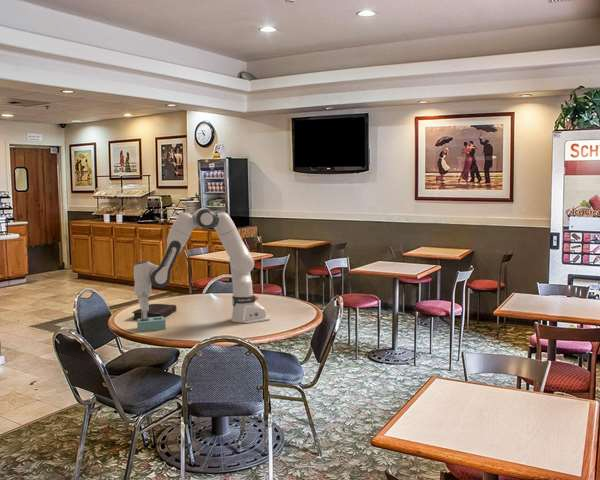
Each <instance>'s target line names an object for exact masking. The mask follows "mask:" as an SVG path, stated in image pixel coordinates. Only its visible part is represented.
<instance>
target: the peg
mask: <svg viewBox="0 0 600 480" xmlns="http://www.w3.org/2000/svg"><path fill="white" fill-rule="evenodd" d="M141 319H142V321H147V318H143V311H142V310H141Z"/></svg>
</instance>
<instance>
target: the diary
mask: <svg viewBox="0 0 600 480" xmlns="http://www.w3.org/2000/svg"><path fill="white" fill-rule="evenodd" d="M176 312H177V304H167V303H150V304H149V311H147V318H150V317H161V316H163V317H164V319H165V318H168V317H169V316H170V315H172V314H173V313H176ZM131 313H132V314H133V320H132V321H137V319H140V318H141V308H138V309H136V310H134V311H132V312H131Z"/></svg>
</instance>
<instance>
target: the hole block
mask: <svg viewBox="0 0 600 480" xmlns="http://www.w3.org/2000/svg"><path fill="white" fill-rule="evenodd" d="M136 323H137V330H138V332H139V333H141V332H142V331H144V332H151V331H161V329H163V330H167V329H166V328H167V327H166V324H167V323H166V319H165V318H164V317H163V316H161V317H150V318H147V321H142V319H141V318H140V319H137V320H136ZM142 333H143V332H142Z"/></svg>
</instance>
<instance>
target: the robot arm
mask: <svg viewBox="0 0 600 480" xmlns="http://www.w3.org/2000/svg"><path fill="white" fill-rule="evenodd" d="M195 228H201V229H211V228H213V229H214V230H215V232H216V234H217V236H218V239H219V240H220V242H221V244H222V246H223V247H222V248H223V249H224V251H225V252H226V253H227V256H228V257H229V266H230V274H231V282H232V298H231V301H232V302H231V304H232V312H231V317H230V321H232V322H233V323H241V324H242V323H244V324H251V323H259V322H263V321H270V320H271V316H270V315H269V314H267V310H266V308H265V306H263V305H262V304H261V303H259V302H258V300H259V297H258V296H257V295H254V294H253V280H252V276H251V272H252V270H253V269H254V267H255V259H254V258H253V256H252V254H251V253H250V250H249V249H248V247H247V245H246V244H245V242H244V240H243V239H242V237H241V235H240V232H239V231H238V229H237V228H238V227H236V225H235V223H234V220H232V218H231V217H230V215H229V214H228V213H227V212H224V211H221V212H218V213H216V212H214V211H213V210H212V209H209V208H207V207H201V208H200V207H199V208H197V209H196V210H194V211H193V212H191V213H188V212H181V213H180V214H178V216H177V217H176V219H175V220H174V222H173V223H172V225H171V227H170V229H169V231H168V235H167V238H166V249H165V253H164V255H163V257H162V260H161V262H160V264H159V265H158V264H155V263H152V262H150V261H149V260H142V261H139V262H136V263H135V264H134V267H133V280H134V285H133V287H134V289H133V290H134V295H135V296H136V297H137V300H138V304H139V308H140V309H141V310H142V311H143V318H147V311H149V297H150V296H151V294H153V293H152V286H153V287H155V288H159V289H162V288H165V287H167V286H168V285H169V283H170V280H171V271H172V268H173V266H174V264H175V262H176V259H177V258H178V255H179V254H180V253H181V251H182V250H183V248H184V247H185V245H186V243H187V242H188V240H189V239H190V236H191V234H192V232H193V230H194V229H195Z"/></svg>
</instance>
